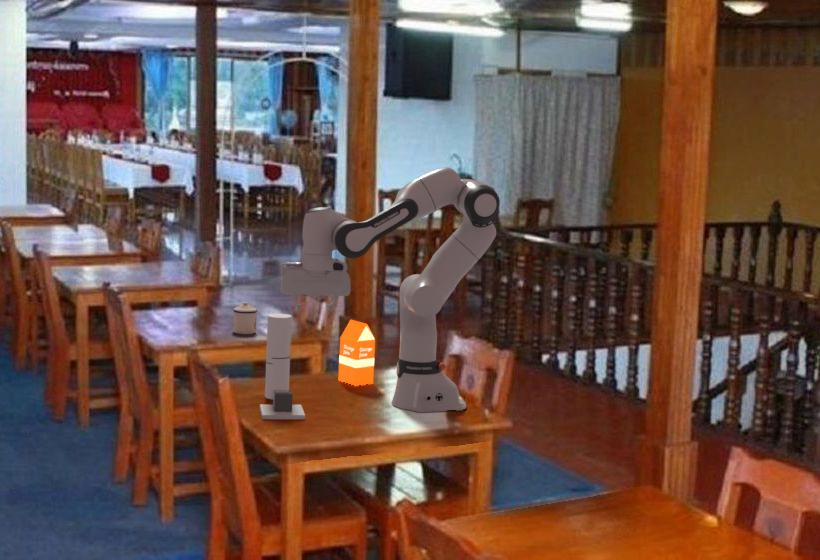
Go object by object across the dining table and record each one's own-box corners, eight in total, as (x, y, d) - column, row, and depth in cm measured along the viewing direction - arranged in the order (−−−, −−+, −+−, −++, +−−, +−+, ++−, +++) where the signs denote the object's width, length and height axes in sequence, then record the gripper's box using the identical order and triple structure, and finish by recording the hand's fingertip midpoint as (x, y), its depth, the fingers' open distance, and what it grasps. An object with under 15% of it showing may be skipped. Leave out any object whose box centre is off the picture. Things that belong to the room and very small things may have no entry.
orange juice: (354, 386, 384) (357, 324, 381) (337, 380, 390) (340, 320, 387) (373, 383, 389) (376, 322, 386) (356, 378, 395) (359, 318, 393)
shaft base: (300, 408, 353) (301, 392, 352) (305, 419, 341) (305, 403, 340) (259, 408, 350) (260, 392, 350) (262, 419, 339) (262, 403, 338)
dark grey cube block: (291, 411, 344) (292, 393, 343) (274, 411, 343) (274, 393, 342) (290, 407, 348) (291, 389, 348) (273, 407, 348) (273, 389, 347)
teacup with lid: (259, 334, 461) (260, 304, 459) (237, 335, 457) (238, 304, 455) (249, 328, 471) (250, 298, 470) (227, 329, 467) (228, 299, 466)
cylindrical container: (284, 400, 361) (287, 318, 357) (261, 398, 362) (264, 316, 359) (291, 395, 368) (294, 314, 364) (269, 393, 369) (272, 312, 366)
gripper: (281, 263, 343) (279, 311, 345) (352, 265, 347) (350, 312, 349) (279, 260, 349) (278, 307, 351) (349, 262, 353) (347, 309, 355)
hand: (314, 310), depth 350 cm, fingers open, 8 cm apart
